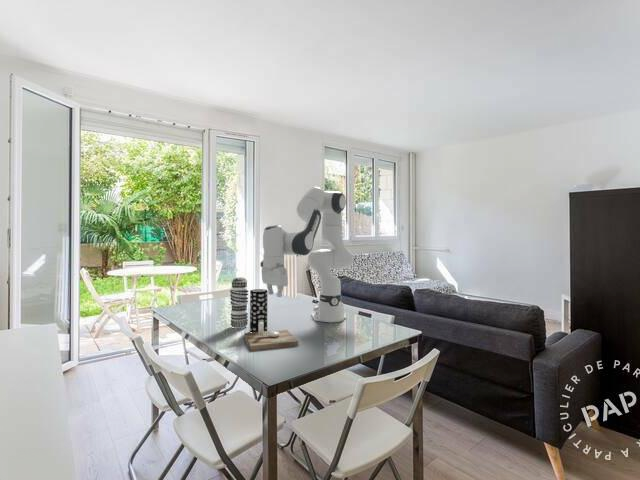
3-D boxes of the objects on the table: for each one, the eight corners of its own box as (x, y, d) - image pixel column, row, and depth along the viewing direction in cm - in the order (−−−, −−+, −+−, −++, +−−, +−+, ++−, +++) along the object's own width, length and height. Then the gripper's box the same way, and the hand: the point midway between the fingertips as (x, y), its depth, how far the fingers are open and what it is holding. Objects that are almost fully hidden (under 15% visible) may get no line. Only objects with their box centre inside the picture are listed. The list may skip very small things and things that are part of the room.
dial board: (244, 337, 160) (244, 332, 160) (286, 333, 167) (286, 329, 167) (250, 350, 143) (250, 345, 143) (297, 345, 149) (297, 340, 149)
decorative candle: (230, 330, 173) (230, 279, 172) (229, 325, 182) (229, 277, 181) (248, 328, 175) (249, 278, 175) (247, 324, 184) (247, 276, 184)
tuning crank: (278, 333, 159) (278, 320, 159) (280, 336, 155) (280, 322, 155) (256, 335, 156) (256, 321, 155) (258, 338, 151) (258, 324, 151)
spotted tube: (270, 330, 173) (270, 289, 173) (262, 334, 165) (262, 292, 165) (255, 328, 176) (255, 288, 176) (246, 332, 168) (246, 291, 168)
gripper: (291, 263, 142) (292, 297, 142) (271, 262, 160) (272, 292, 160) (276, 264, 139) (277, 299, 139) (258, 262, 157) (259, 293, 157)
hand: (275, 295), depth 150 cm, fingers open, 8 cm apart
